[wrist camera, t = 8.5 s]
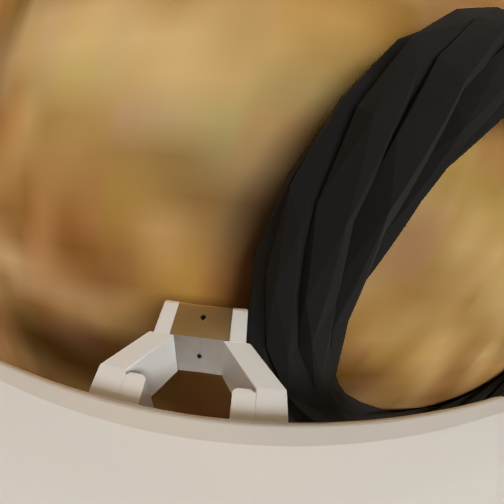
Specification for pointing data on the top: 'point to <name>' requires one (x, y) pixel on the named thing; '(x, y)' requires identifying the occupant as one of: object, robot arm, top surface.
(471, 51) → the cable lock
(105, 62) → the top surface
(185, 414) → the robot arm
